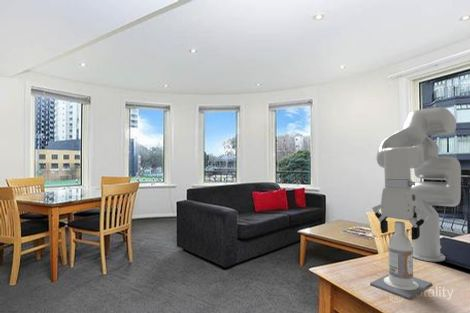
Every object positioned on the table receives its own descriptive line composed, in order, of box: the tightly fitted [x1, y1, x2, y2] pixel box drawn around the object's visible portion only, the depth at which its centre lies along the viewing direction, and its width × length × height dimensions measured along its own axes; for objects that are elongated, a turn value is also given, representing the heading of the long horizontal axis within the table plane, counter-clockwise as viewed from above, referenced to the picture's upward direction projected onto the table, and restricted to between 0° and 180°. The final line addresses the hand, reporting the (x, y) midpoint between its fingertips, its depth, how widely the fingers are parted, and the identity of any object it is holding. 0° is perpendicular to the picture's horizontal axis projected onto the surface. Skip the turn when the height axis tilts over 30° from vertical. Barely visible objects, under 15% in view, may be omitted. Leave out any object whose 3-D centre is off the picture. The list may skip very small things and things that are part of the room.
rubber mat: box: [369, 273, 433, 300], centre depth 92 cm, size 16×12×1 cm
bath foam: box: [387, 220, 414, 286], centre depth 92 cm, size 7×7×20 cm
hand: (399, 235), depth 92 cm, fingers open, 9 cm apart
